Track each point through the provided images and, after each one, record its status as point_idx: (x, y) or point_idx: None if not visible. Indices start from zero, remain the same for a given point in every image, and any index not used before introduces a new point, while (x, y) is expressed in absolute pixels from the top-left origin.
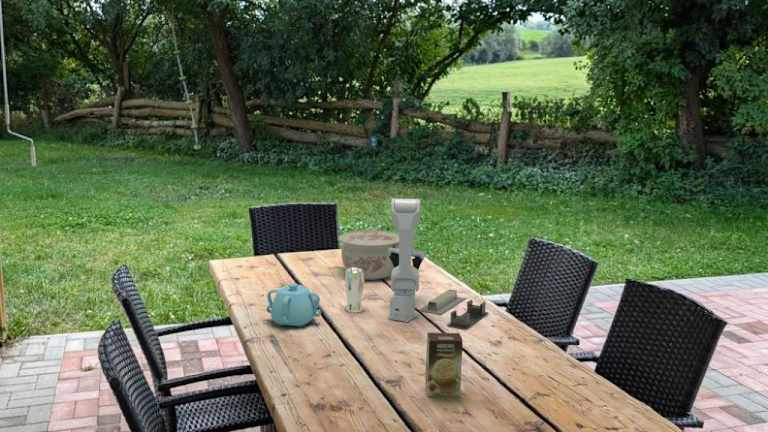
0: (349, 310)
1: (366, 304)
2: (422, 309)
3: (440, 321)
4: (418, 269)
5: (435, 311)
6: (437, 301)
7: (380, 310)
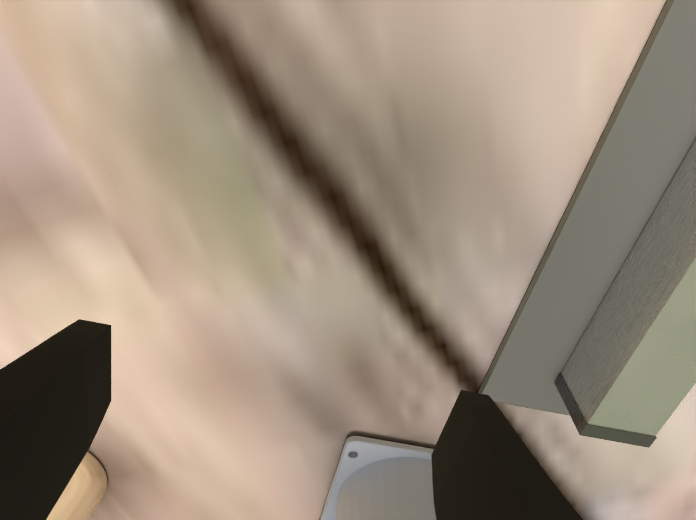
0: None
1: None
2: (508, 384)
3: (636, 507)
4: (549, 489)
5: None
6: (665, 409)
7: (212, 441)
